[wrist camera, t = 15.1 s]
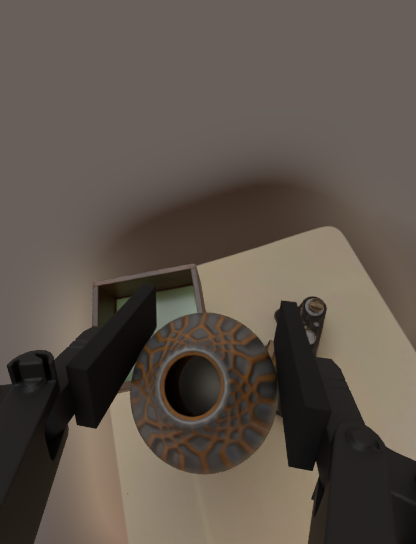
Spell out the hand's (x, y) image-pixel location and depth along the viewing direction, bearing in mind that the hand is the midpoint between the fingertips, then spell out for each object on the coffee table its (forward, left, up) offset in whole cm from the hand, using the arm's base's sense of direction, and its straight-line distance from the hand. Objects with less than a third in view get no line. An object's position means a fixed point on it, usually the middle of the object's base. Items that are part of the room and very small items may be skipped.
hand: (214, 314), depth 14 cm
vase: (-1, -3, -4) cm, 5 cm away
